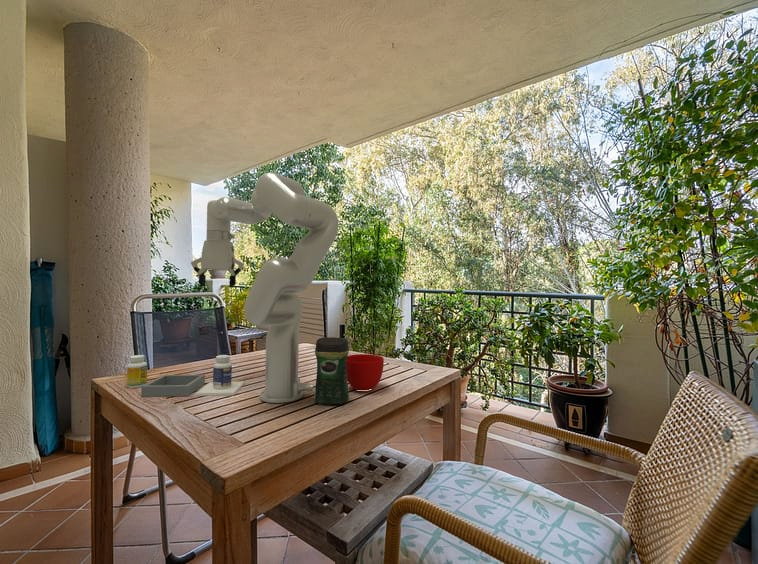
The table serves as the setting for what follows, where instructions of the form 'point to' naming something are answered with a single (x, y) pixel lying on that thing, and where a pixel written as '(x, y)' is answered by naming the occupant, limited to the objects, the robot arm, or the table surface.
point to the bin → (173, 385)
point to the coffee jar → (331, 371)
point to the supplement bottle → (136, 372)
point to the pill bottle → (222, 372)
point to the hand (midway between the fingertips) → (217, 286)
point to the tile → (210, 391)
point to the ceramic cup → (364, 370)
